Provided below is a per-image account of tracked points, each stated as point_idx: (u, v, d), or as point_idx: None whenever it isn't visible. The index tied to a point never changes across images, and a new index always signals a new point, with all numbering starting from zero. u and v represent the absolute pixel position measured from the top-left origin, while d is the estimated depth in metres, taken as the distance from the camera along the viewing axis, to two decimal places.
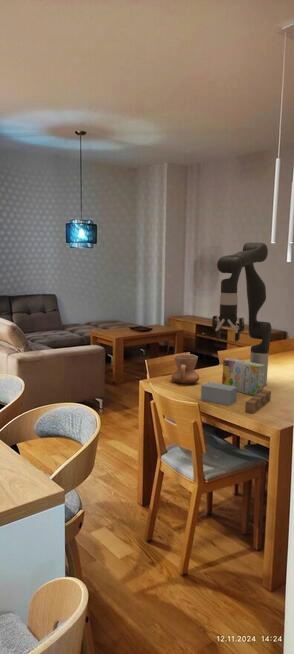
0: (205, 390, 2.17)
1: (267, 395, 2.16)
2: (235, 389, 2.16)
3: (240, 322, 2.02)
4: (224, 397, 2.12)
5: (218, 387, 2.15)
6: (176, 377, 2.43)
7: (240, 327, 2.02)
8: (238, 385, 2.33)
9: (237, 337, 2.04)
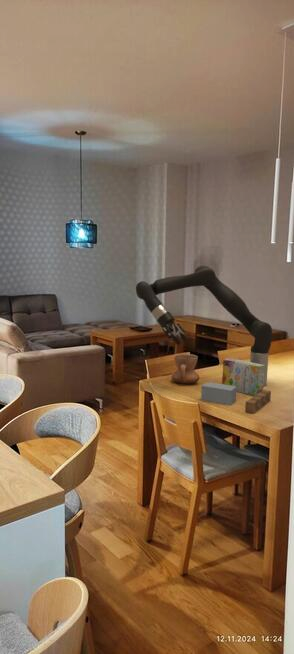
0: (205, 390, 2.16)
1: (267, 395, 2.16)
2: (235, 389, 2.16)
3: None
4: (225, 397, 2.12)
5: (218, 387, 2.15)
6: (176, 377, 2.43)
7: None
8: (238, 385, 2.33)
9: (175, 342, 2.22)
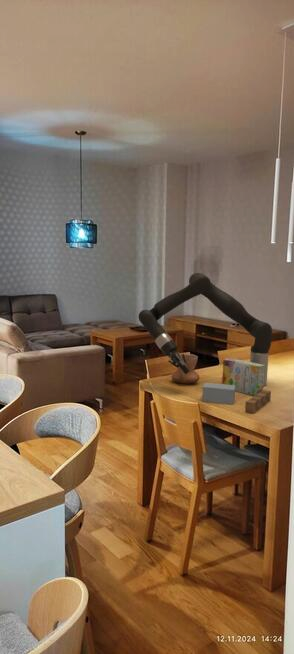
0: (206, 391, 2.15)
1: (267, 395, 2.16)
2: None
3: None
4: (227, 397, 2.13)
5: (220, 387, 2.15)
6: (176, 377, 2.43)
7: None
8: (238, 385, 2.33)
9: (183, 371, 2.25)
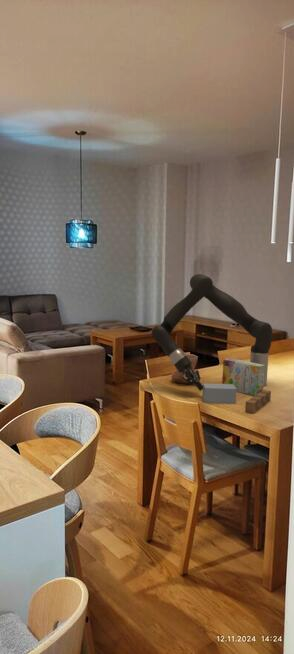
0: (209, 392, 2.13)
1: (267, 395, 2.16)
2: None
3: None
4: (230, 396, 2.14)
5: (221, 387, 2.15)
6: (176, 377, 2.43)
7: None
8: (238, 385, 2.33)
9: (197, 387, 2.22)
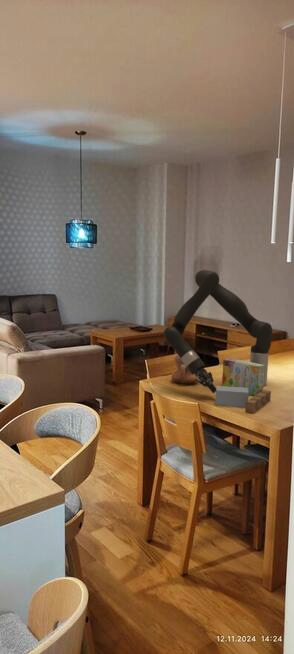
0: (220, 394, 2.10)
1: (267, 395, 2.16)
2: (247, 390, 2.14)
3: None
4: (242, 400, 2.09)
5: (233, 390, 2.10)
6: (176, 377, 2.43)
7: None
8: (238, 385, 2.33)
9: None
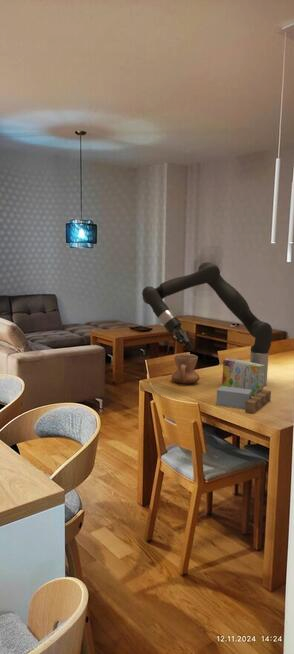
0: (221, 394, 2.10)
1: (267, 395, 2.16)
2: (251, 392, 2.11)
3: None
4: (242, 401, 2.07)
5: (235, 391, 2.09)
6: (176, 377, 2.43)
7: None
8: (238, 385, 2.33)
9: (187, 347, 2.22)
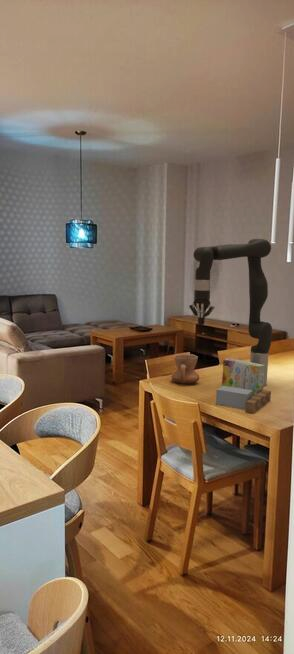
0: (220, 394, 2.11)
1: (267, 395, 2.16)
2: (251, 393, 2.11)
3: (209, 310, 2.25)
4: (241, 401, 2.07)
5: (234, 391, 2.09)
6: (176, 377, 2.43)
7: (206, 313, 2.26)
8: (238, 385, 2.33)
9: (202, 321, 2.29)
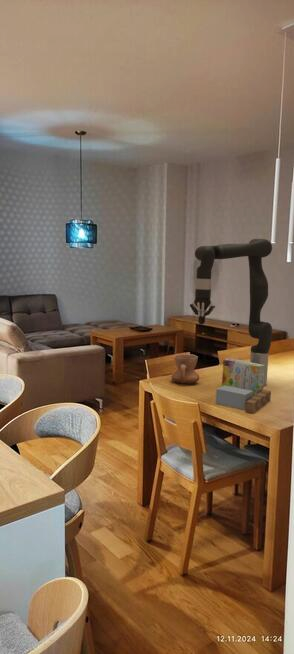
0: (220, 393, 2.12)
1: (267, 395, 2.16)
2: (251, 393, 2.10)
3: (210, 309, 2.25)
4: (239, 401, 2.06)
5: (233, 391, 2.10)
6: (176, 377, 2.43)
7: (207, 312, 2.26)
8: (238, 385, 2.33)
9: (203, 320, 2.28)
